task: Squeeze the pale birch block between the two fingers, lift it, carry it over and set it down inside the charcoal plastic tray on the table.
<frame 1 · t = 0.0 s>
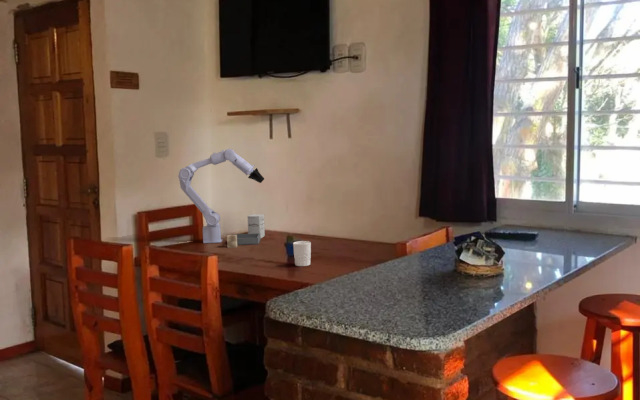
hand: (262, 181, 351), 32 cm above the table, tool tilted 50°, fingers open, 7 cm apart
supplement box: (256, 237, 365), on the table
birch block: (232, 246, 339), on the table
serving tray: (244, 242, 350), on the table
white cup: (302, 265, 291), on the table
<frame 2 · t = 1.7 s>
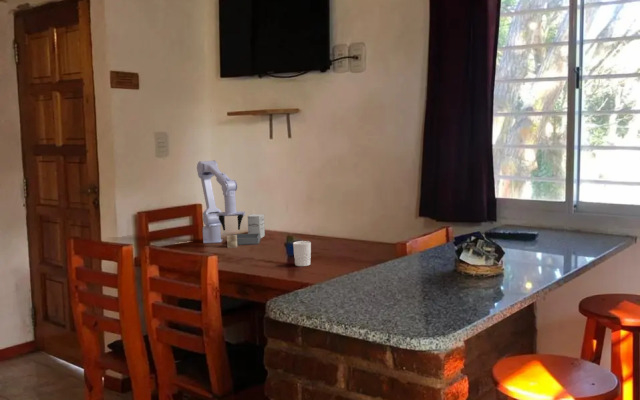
hand: (231, 229, 338), 9 cm above the table, tool pointing down, fingers open, 7 cm apart
nothing on the table moved.
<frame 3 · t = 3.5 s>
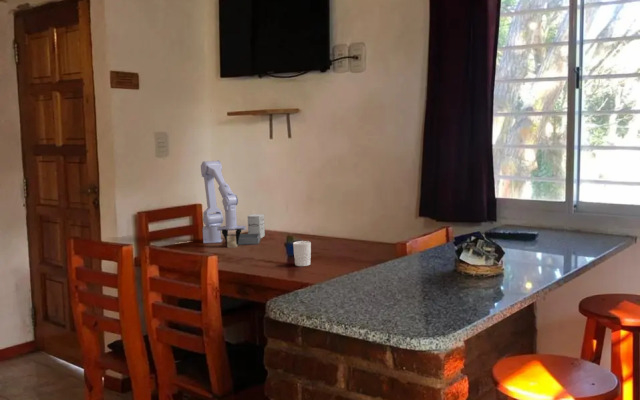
hand: (232, 244, 339), 1 cm above the table, tool pointing down, fingers closed on birch block, 4 cm apart
birch block: (232, 246, 339), on the table, touching gripper
everything else where it was.
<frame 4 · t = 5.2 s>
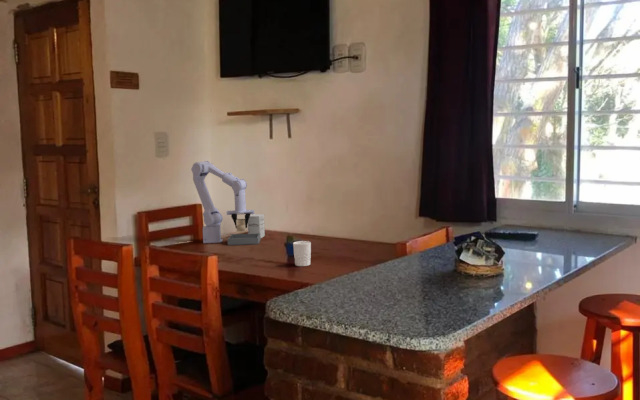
hand: (241, 227, 346), 8 cm above the table, tool pointing down, fingers closed on birch block, 4 cm apart
birch block: (241, 230, 346), point 7 cm above the table, touching gripper
everything else where it was.
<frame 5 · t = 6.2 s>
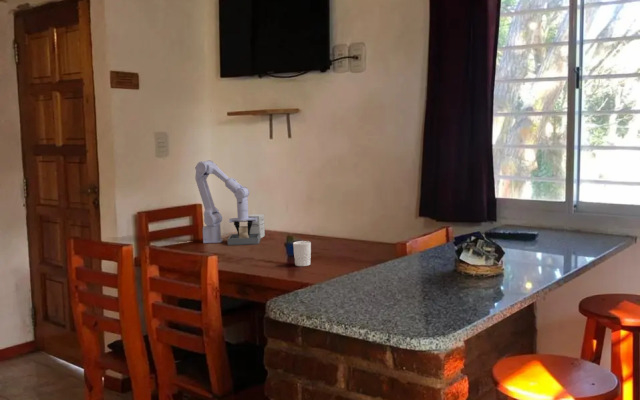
hand: (244, 235, 348), 4 cm above the table, tool pointing down, fingers closed on birch block, 4 cm apart
birch block: (244, 238, 348), point 3 cm above the table, touching gripper
everything else where it was.
when the fingers open (4 cm above the table, at t = 7.1 s): birch block drops 2 cm, resting on serving tray.
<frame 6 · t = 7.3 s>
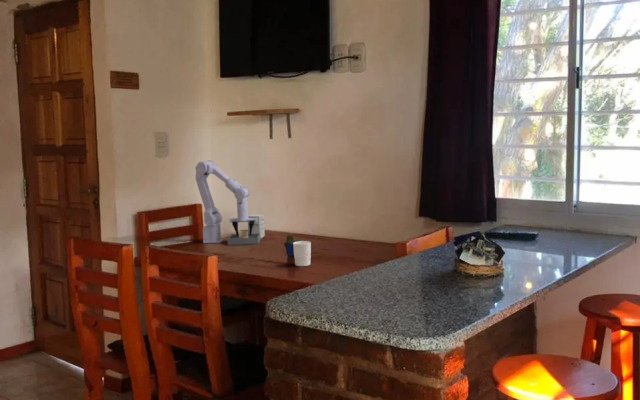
hand: (244, 235, 348), 4 cm above the table, tool pointing down, fingers open, 6 cm apart
birch block: (244, 241, 349), point 1 cm above the table, touching serving tray
everything else where it was.
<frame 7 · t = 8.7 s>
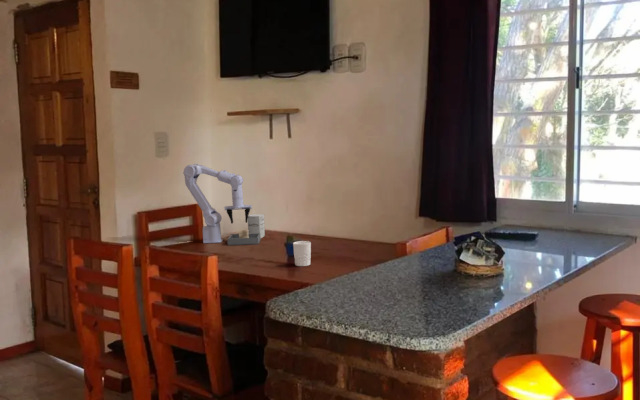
hand: (239, 222, 351), 10 cm above the table, tool pointing down, fingers open, 7 cm apart
nothing on the table moved.
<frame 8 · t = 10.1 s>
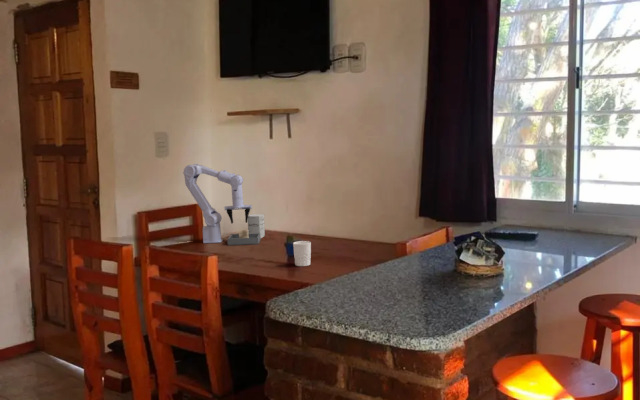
hand: (239, 222, 351), 10 cm above the table, tool pointing down, fingers open, 7 cm apart
nothing on the table moved.
at the end: birch block inside the target area on the serving tray (1.1 cm from its centre), point 0.6 cm above the serving tray's base; the gripper is holding nothing; birch block tilted 0° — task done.
